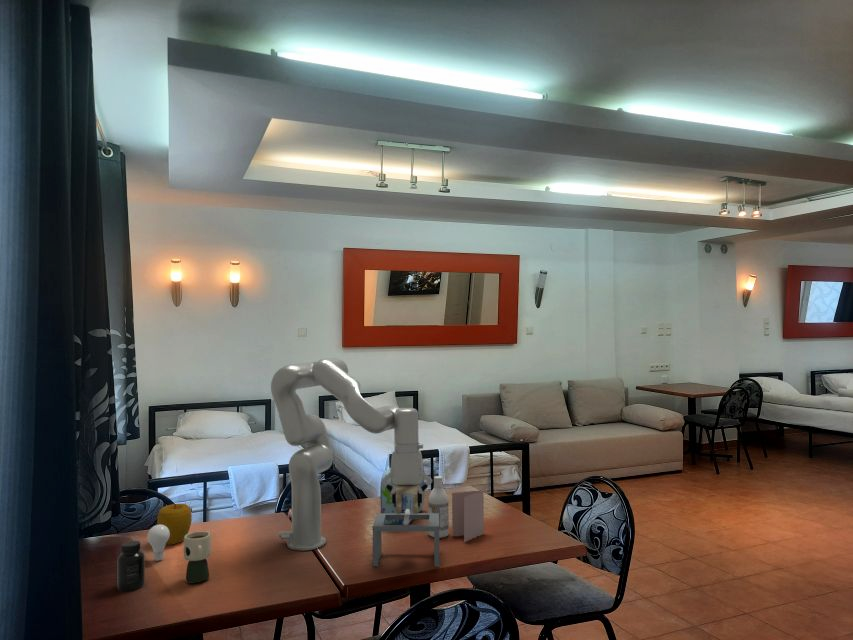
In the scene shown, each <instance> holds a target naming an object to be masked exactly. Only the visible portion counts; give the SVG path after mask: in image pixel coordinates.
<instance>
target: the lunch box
mask: <svg viewBox="0 0 853 640" xmlns="http://www.w3.org/2000/svg"><path fill="white" fill-rule="evenodd" d="M424 468H425V467H424V466H423V472H424V473H425V474H426V472H425V469H424ZM390 472H391V467H389V468H388V469H386V470H385V471H384V472H383V474H382V475H381V480H380V487H379V488H380V490H379V491H380V493H379V494H380V513H396V507H394V504H392V493H391V492H390V491H389V490H388V489H387V488H386V487H385V486H384V485H383V483H382V479H384V478H385V477H386V476H387V475H388V474H389V473H390ZM387 482H388V483H389V484H390V485H391V486H392V487H393V484H391V478H390V479H389V480H388V481H387ZM424 484H425V479H424V478H423V482H422V484H421V486H423V485H424ZM424 500H425V491H424V492H423V493H422V503H420V507H418V513H421V511H422V509H423V505H424V502H425V501H424ZM406 509H409V510H410V513H413V497H412V494H402V511H401V513H405V510H406ZM413 520H414V519H409V524H410V523H411V522H412V521H413ZM403 522H404V519H387V520H385V524H384V525H404V524H403Z"/></svg>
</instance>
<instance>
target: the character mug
mask: <svg viewBox="0 0 853 640" xmlns="http://www.w3.org/2000/svg"><path fill="white" fill-rule="evenodd" d="M211 536H212V535H211V532H209V531H206V530H197V531H193V532H188V534H186V535H185V536H184V540H183V559H185V561H187V562H188V563H187V565H186V570H185V571H186V574H185V582H186V583H188V584H197V583H198V584H199V583H200V582H203V581H205V580H208V579H209V578H210V572H209V570H210V569H209V562H208V560H207V559H208V558H209V557H211V553H212V552H211V548H212V545H211V542H212V541H211Z"/></svg>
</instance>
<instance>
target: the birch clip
mask: <svg viewBox="0 0 853 640" xmlns="http://www.w3.org/2000/svg"><path fill="white" fill-rule="evenodd" d="M402 494H412V497H413V514H418V487H417V486H416V485H398V486H396V514H401V511H402Z"/></svg>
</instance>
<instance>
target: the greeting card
mask: <svg viewBox="0 0 853 640" xmlns="http://www.w3.org/2000/svg"><path fill="white" fill-rule="evenodd" d="M484 500H485V499H484V490H473V491H471V490H470V491H460V492H459V491H458V492H452V493H451V503H452V505H451V507H452V508H451V511H452V512H451V514H452V519H451V522H452V523H451V526H452V527H451V529H452V530H451V531H452V537H453V536H455V537H461V536H460V535H464V536H463V543H464V542H465V543H467V542H468V540H469V541H471V540H473V539H475V538H478V537H480V536H482V535H484V533H485V532H484V530H485V528H484V527H485V525H484V524H485V523H484V522H485V521H484V520H485V519H484V515H485V513H484V512H485V511H484V509H485V508H484V507H485V506H484V504H485V503H484ZM477 536H478V537H477ZM472 538H473V539H472ZM470 539H471V540H470ZM466 541H467V542H466Z"/></svg>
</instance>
